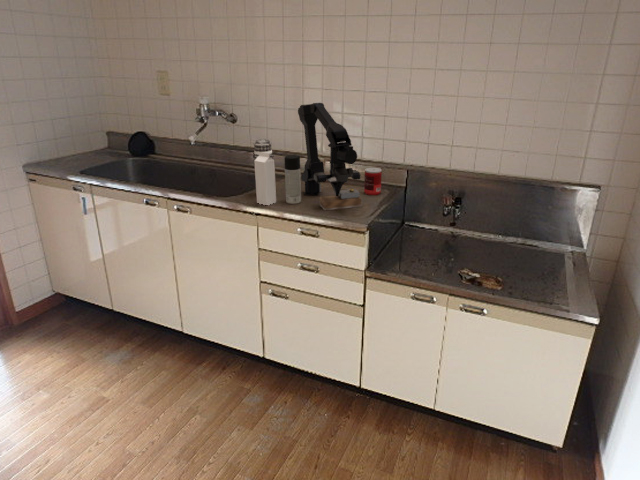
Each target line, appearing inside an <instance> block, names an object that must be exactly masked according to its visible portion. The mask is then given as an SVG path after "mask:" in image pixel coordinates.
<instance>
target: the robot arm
mask: <svg viewBox="0 0 640 480" xmlns="http://www.w3.org/2000/svg"><path fill="white" fill-rule="evenodd" d="M297 113H298V114H297V115H298V116H299V121H300V123H301V125H303V128H304V130H303V131H304V137H305V138H304V139H305V148H306V162H305V164H304V169H303V172H302V174H300V176H301V181H302V182H304V192H303V194H304V195H306V196H318V195H320V193H321V192H322V183H326V181H327V182H329V183H330V184H331V186H332V189H333V191H334V196H338V195H339V192H340V190H342V188H343V185H344V184H345V183H347V182H348V180H349V178H351V179H352V180H353V181H356V180H361V177H362V176H361V173H360V172H359V171H358V170H357V169H353V167H350V168H349V167H346V164H348V165H353V164H354V163H356V162H357V159H358V154H357V150H355V149H354V146H353V145H352V140H351V139H350V136H349V134H348V130H347V129H346V128H345V126H343V125H342V124H340V123H337V122H336V121H335V120H334V118H333V117H332V115H331V114H330V113H329V111H328V109H326V107H325V104H324V103H323V102H313V103H311V104H310V103H309V104H301V105H299V108H298V109H297ZM318 121H319V122H320V124H321V125H322V126H323V128H324V129H325V131H326V132H325V136H326V138H327V140H328V141H329V143H328V145H327V147H328V148H330V150H329V151H330V153H329V154H330V159H329V164H330V165H329V166H330V170H329V173H328V174H326V173H325V168H324V161H321V160H320V159H321V158H319V150H318V141H317V132H316V129H317V128H316V124H317V122H318Z"/></svg>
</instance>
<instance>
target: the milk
mask: <svg viewBox="0 0 640 480" xmlns="http://www.w3.org/2000/svg"><path fill="white" fill-rule="evenodd" d="M272 158H273V157H272ZM272 158H270V157H269V153H263V152H259V156H258V157H257V158H256V159H255V158H254V159H255V160H254V159H253V165H254V164H255V166H254V168H255V169H254V176H255V177H254V178H255V180H256V182H255V193H256V204H257V203H259V204H258V205H261V204H263V205H262V206H265V205H268V206H270V204H271V205H274V204H276V203H277V192H276V190H277V189H276V168H275V158H273V159H272ZM273 203H274V204H273Z"/></svg>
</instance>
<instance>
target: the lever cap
mask: <svg viewBox="0 0 640 480" xmlns="http://www.w3.org/2000/svg"><path fill="white" fill-rule="evenodd" d="M338 197H339V198H340V199H352V198H359V197H360V191H359V190H357V189H356V188H350V189H349V188H348V189H341V190H340V192H339V195H338Z"/></svg>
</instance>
